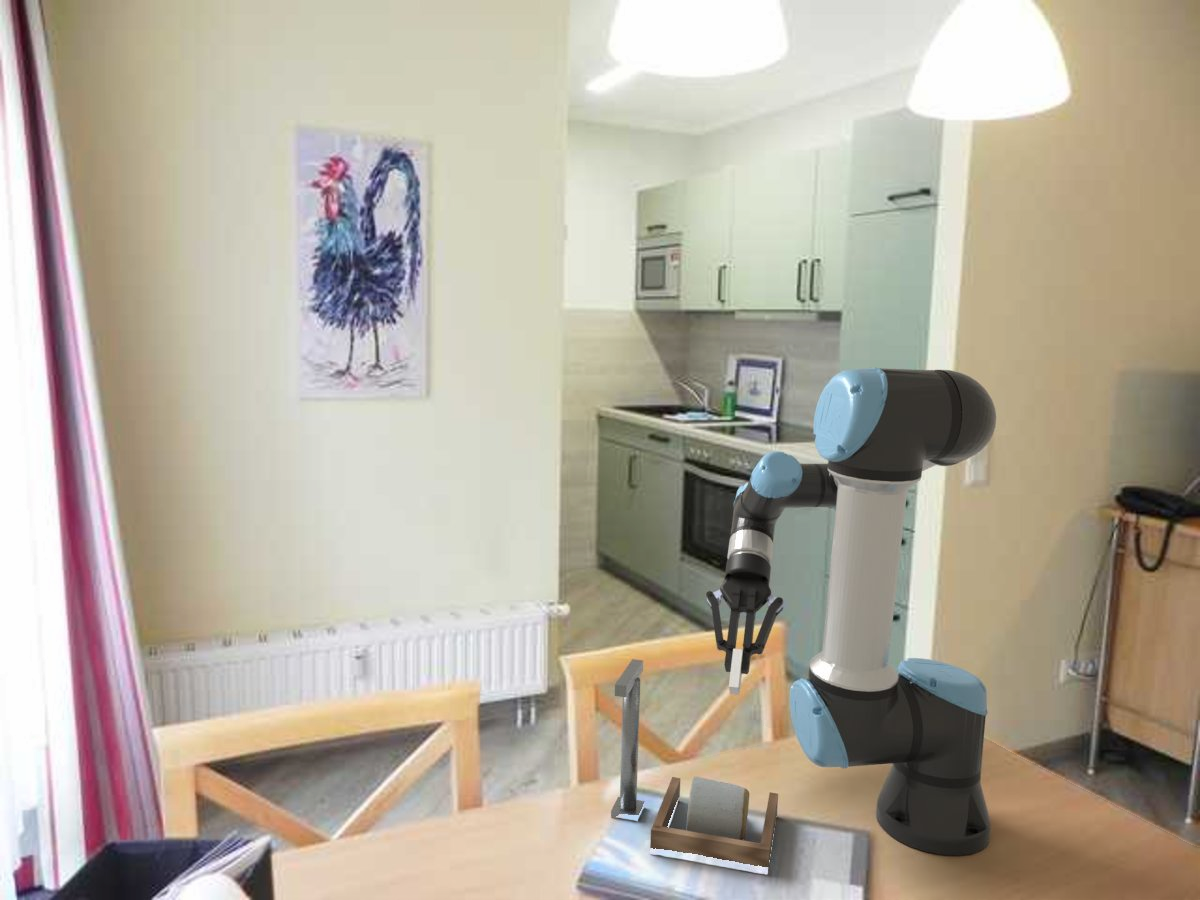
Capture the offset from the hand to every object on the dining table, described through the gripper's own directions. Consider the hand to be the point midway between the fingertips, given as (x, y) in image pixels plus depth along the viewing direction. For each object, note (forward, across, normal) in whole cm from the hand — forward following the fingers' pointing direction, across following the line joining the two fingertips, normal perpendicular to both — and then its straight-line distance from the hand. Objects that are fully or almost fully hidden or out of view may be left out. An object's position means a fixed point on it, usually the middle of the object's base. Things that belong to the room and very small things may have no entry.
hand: (734, 690), depth 136 cm
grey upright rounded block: (+22, 0, +1) cm, 22 cm away
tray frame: (+22, 0, +2) cm, 22 cm away
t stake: (+22, +13, +2) cm, 25 cm away
